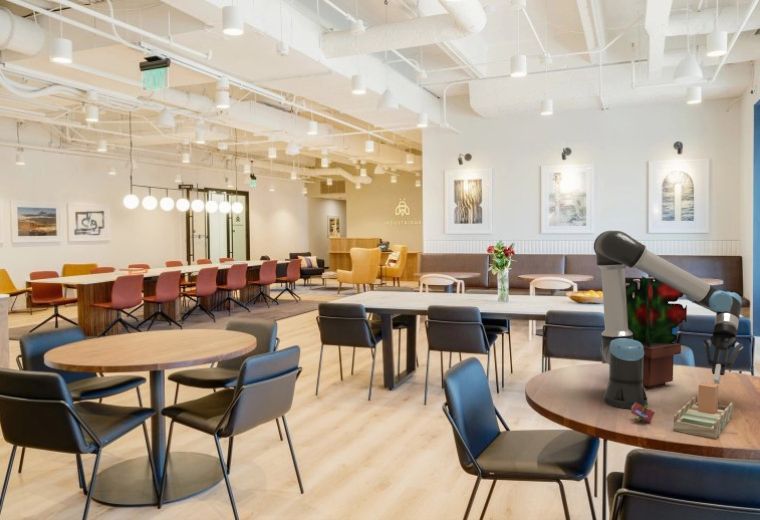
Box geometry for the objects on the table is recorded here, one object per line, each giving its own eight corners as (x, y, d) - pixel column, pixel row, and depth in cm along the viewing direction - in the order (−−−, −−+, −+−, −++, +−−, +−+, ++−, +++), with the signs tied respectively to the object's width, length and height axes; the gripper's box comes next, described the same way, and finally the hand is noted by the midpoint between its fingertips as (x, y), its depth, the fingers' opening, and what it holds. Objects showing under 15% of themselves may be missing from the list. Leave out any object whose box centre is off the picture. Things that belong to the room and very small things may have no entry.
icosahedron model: (662, 416, 195) (647, 395, 198) (656, 421, 190) (641, 399, 193) (644, 425, 199) (630, 404, 202) (637, 430, 194) (623, 408, 197)
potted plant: (684, 386, 242) (687, 278, 240) (651, 393, 231) (654, 280, 229) (637, 375, 261) (639, 275, 259) (604, 381, 250) (606, 277, 248)
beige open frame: (715, 439, 180) (716, 423, 180) (673, 430, 188) (673, 415, 187) (733, 415, 203) (733, 401, 203) (694, 409, 210) (695, 395, 210)
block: (714, 413, 195) (715, 387, 195) (698, 411, 199) (698, 384, 198) (717, 410, 199) (718, 384, 199) (701, 407, 202) (701, 382, 202)
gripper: (747, 336, 215) (739, 390, 203) (707, 332, 224) (697, 384, 211) (745, 323, 211) (736, 378, 199) (704, 320, 219) (694, 372, 207)
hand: (716, 381), depth 205 cm, fingers closed
